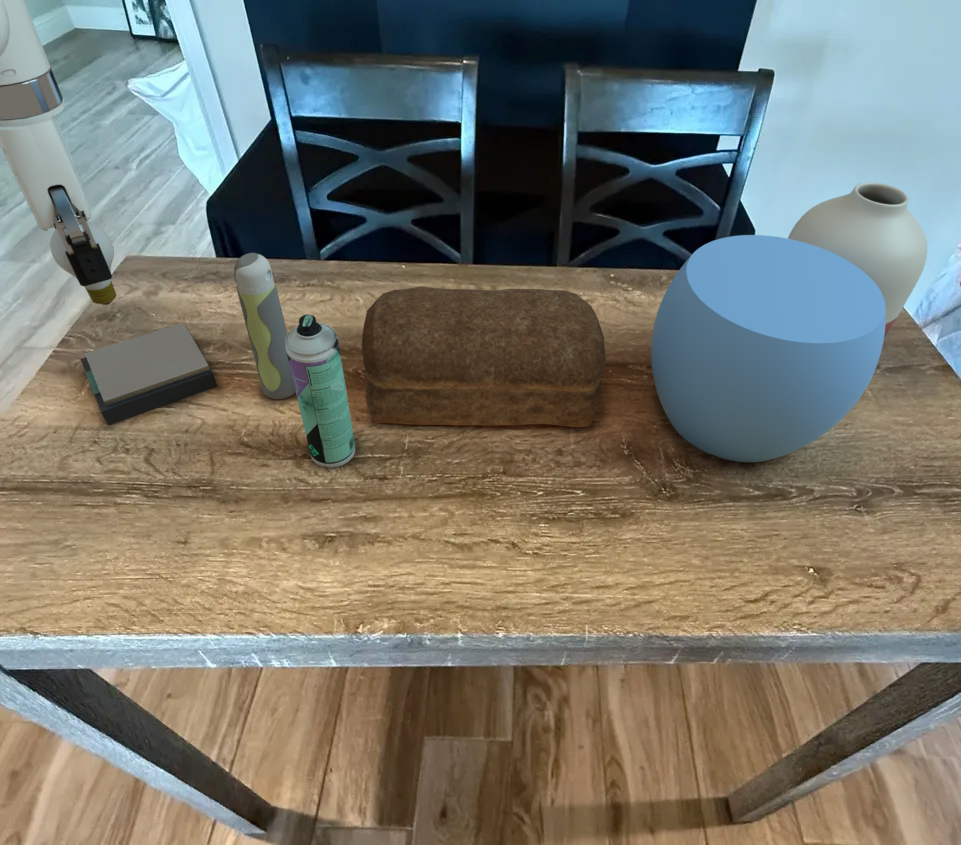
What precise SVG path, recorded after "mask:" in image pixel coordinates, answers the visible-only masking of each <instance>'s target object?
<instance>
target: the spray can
mask: <svg viewBox="0 0 961 845" xmlns="http://www.w3.org/2000/svg"><path fill="white" fill-rule="evenodd" d="M285 343H286V352H287V356H288V360H289V365H290V369H291V373H292V378H293V382H294V386H295V391H296V393H295V395H296V397H297V398H296V399H297V404H298V407H299V412H300V416H301V420H302V424H303V430H304V434H305V439H306V442H307V446H308V450H309V455H310V457H311V460H312V461H313V463H315V464H316V465H318V466H320V467H323V468H330V469H331V468H338V467H341V466H343V465H345V464H347V463H348V462H349V461H351V460H352V459H353V457H354V456H355V454H356V442H355V437H354V430H353V424H352V418H351V411H350V406H349V405H350V404H349V400H348V392H347V387H346V381H345V380H346V379H345V374H344V368H343V362H342V356H341V349H340V344H339V343H340V342H339V339H338V336H337V332H336V330H335V329H334V328H333V327H332V326H330V325H328V324H326V323H321V322H319V321H317V319H316V317H315V315H313V314H303V315H301V316H300V317H299V318H298V325H297V326H295V327H293V328H292V329H291V330H290V331H289V332H287V336H286V338H285Z"/></svg>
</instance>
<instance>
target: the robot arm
mask: <svg viewBox="0 0 961 845" xmlns="http://www.w3.org/2000/svg"><path fill="white" fill-rule="evenodd" d="M43 46H44V45H43V43H42V42H41V38H40V37H39V34H38V31H37V29H36V27H35V24H34V21H33V19H32V16H31V13H30V11H29V8H28V6H27V4H26V1H25V0H0V148H1V150H2V154H3V155H4V157H5V159H6V161H7V164H8V166H9V168H10V170H11V172H12V174H13V176H14V178H15V181H16V182H17V185H18V187H19V189H20V191H21V193H22V195H23V197H24V199H25V201H26V203H27V205H28V207H29V209H30V210H29V211H30V212H31V214H32V216H33V218H34V220H35V222H36V224H37V227H38V228H39V229H40V230H42V231H44V232H48V231H49V230H48V229H53V228H54V230H56V229H57V230H58V232H59V234H60V236H61V238H62V240H63V243H64V245H65V247H66V249H67V251H65V253H66V255H67V258H68V260H69V262H70V264H71V266H72V268H73V271H74V273H75V275H76V277H77V278H76V277H75V278H76V280H77V279H78V280H77V281H78V283H79V286H81V287H84V286H88V285H91V284H95V283H99V282H102V281H106V280H110V279H111V278H112V279H113V274H112V271H111V272H110V270H109V267H108V265H107V263H106V260H105V258H104V255H103V253H102V251H101V248H100V246H99V244H98V243H97V244H96V242H95V240H94V238H93V236H92V233H91V231H90V229H89V226H88V224H87V221H88V222H89V221H90V219H91V218H92V213H91V209H90V207H89V206H90V205H89V203H88V200H87V197H86V194H85V190H84V188H83V184H82V181H81V178H80V176H79V173H78V169H77V167H76V165H75V162H74V159H73V157H72V154H71V151H70V148H69V146H68V144H67V141H66V139H65V136H64V134H63V131H62V129H61V126H60V123H59V122H58V119H57V116H58V115H59V114H60V113H62V112H63V111H64V110H65V108H66V102H65V100H64V97H63V94H62V92H61V90H60V87H59V84H58V82H57V79H56V77H55V74H54V72H53V68H52V66H51V65H50V62H49V59H48V57H47V56H48V55H47V54H46V51H45V48H44V47H43ZM81 224H82V227H83V229H84V231H83V232H82V229H81V227H80V225H81ZM64 228H66V229H67V231H68V233H69V235H67V236H66V234H65V231H64ZM71 246H72V247H71ZM112 279H111V280H112Z"/></svg>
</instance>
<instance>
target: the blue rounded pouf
mask: <svg viewBox="0 0 961 845" xmlns="http://www.w3.org/2000/svg"><path fill="white" fill-rule="evenodd" d="M885 323H886V308H885V300H884V297H883V295H882V293H881V291H880V289H879V288H878V286H877V285H876V284H875V282H874V281H873V280H872V279H871V278H870V277H869V276H868V275H867V274H866V273H865V272H863V271H862V270H861V269H859V268H858V267H857V266H855V265H854V264H852V263H851V262H849V261H847V260H846V259H844V258H842V257H840V256H838V255H836V254H834V253H832V252H830V251H827V250H825V249H822V248H820V247H817V246H814V245H811V244H808V243H804V242H800V241H796V240H792V239H788V237H787V238H786V237H780V236H773V235H763V234H760V235H759V234H741V235H732V236H726V237H722V238H717V239H715V240H712V241H710V242H708V243H705V244H703V245H702V246H700V247H698V248H697V249H696V250H695V251H694V252H693V253H692V254H691V255H690V256H689V257H688V259H687V260H686V261H685V262H684V263H683V265H681V267H680V268H679V270H678V271H677V272H676V274H675V275H674V277H673V279H672V281H671V282H670V283H669V285H668V287H667V289H666V291H665V293H664V295H663V297H662V299H661V302H660V304H659V306H658V309H657V313H656V315H655V320H654V323H653V328H652V335H651V344H650V364H651V371H652V377H653V378H652V379H653V384H654V387H655V390H656V394H657V396H658V399H659V401H660V404H661V406H662V409H663V411H664V413H665V415H666V417H667V419H668V420H669V422H670V423H671V425H672V427H673V428H674V429H675V431H676V432H677V433H678V434H679V435H680V436H681V437H682V438H683V439H684V440H685V441H687V442H688V443H689V444H691V445H692V446H694V447H695V448H697V449H699V450H701V451H702V452H705V453H707V454H709V455H711V456H714V457H717V458H719V459H723V460H726V461H727V460H728V461H732V462H736V463H737V462H738V463H760V462H767V461H770V460H774V459H779V458H781V457H784V456H787V455H788V454H792V453H793V452H795V451H798V450H800V449H801V448H804V447H806V446H809V444H811V443H813V442H814V441H816V440H818V439H819V438H821V437H822V436H824V435H825V434H827V432H829V431H830V430H832V429H833V428H834V427H835V426H836V425H837V424H839V423H840V421H842V420H843V419H844V418H845V417H846V416H847V415H848V413H850V411H851V410H852V409H853V408H854V406H855V405H856V404H857V403H858V402H859V400H860V398H862V396H863V394H864V392H865V391H866V389H867V388H868V386H869V384H870V382H871V380H872V379H873V376H874V374H875V372H876V369H877V367H878V364H879V361H880V358H881V354H882V350H883V345H884V341H885V339H884V334H885Z"/></svg>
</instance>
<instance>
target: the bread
mask: <svg viewBox="0 0 961 845" xmlns="http://www.w3.org/2000/svg"><path fill="white" fill-rule="evenodd" d="M361 354H362V363H363V367H364V371H365V376H366V377H365V380H366V381H365V403H366V407H367V411H368V413H369V415H370V416H371V417H372V418H371V419H373V420H374V422H375V423H379V424H381V423H382V424H396V425H417V426H419V425H421V426H422V425H424V426H426V425H428V426H429V425H432V426H434V425H435V426H436V425H437V426H439V425H441V426H443V425H444V426H445V425H447V426H487V427H488V426H489V427H490V426H524V425H525V426H527V425H554V426H563V427H569V428H586V427H590V425H591V423H592V422H593V421H594V418H595V416H596V413H597V411H598V408H599V406H600V401H601V379H602V377H603V373H604V369H605V365H606V349H605V337H604V333H603V330H602V327H601V324H600V321H599V318H598V316H597V314H596V312H595V309H594V308H593V306H592V305H590V304H589V302H587V301H586V300H584V298H583V297H581V296H580V295H579V294H577V293H575V292H572V291H569V290H565V289H564V290H563V289H545V288H544V289H542V288H506V289H498V290H491V289H471V288H442V287H440V288H439V287H430V286H415V287H410V288H400V289H399V288H398V289H393V290H390V291H387V292H383V293H381V294H380V296H379V297H377V298H376V300H374V301H373V303H372V304H371V305H370V307H368V309H367V310H366V313H365V318H364V324H363V329H362V335H361Z"/></svg>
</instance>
